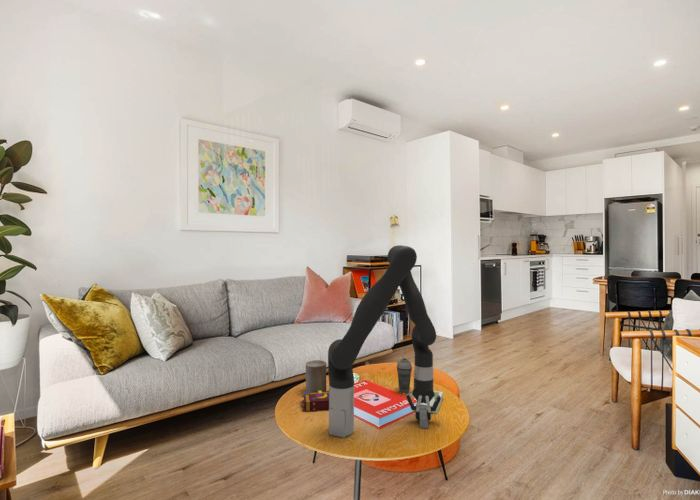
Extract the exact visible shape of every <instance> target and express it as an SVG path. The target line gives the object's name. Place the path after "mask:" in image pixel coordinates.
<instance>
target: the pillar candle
mask: <svg viewBox="0 0 700 500" xmlns="http://www.w3.org/2000/svg"><path fill="white" fill-rule="evenodd" d="M321 390H322V391H327V362H326V361H325V360H316V359H315V360H309V361H307V362H305V392H311V391H312V392H318V391H321Z"/></svg>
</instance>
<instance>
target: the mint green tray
mask: <svg viewBox="0 0 700 500" xmlns="http://www.w3.org/2000/svg"><path fill="white" fill-rule="evenodd" d="M433 391H434V394H436V395H440V397H441V400H440V402H439V404H438V406H437V409H436V411H432V412H431V414H434V415H437V414H438V411H439V409H440V407H441V404H442V402H443V400H444V391H437V390H433ZM434 398H435V397H433V398H432V400H431V401H430V407H432V406H433V404H434V402H435V399H434ZM414 400H416V399H415V398H414V399H413V401H414ZM416 401H417V400H416ZM420 406H427V404H425V403H421V404H420Z"/></svg>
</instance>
